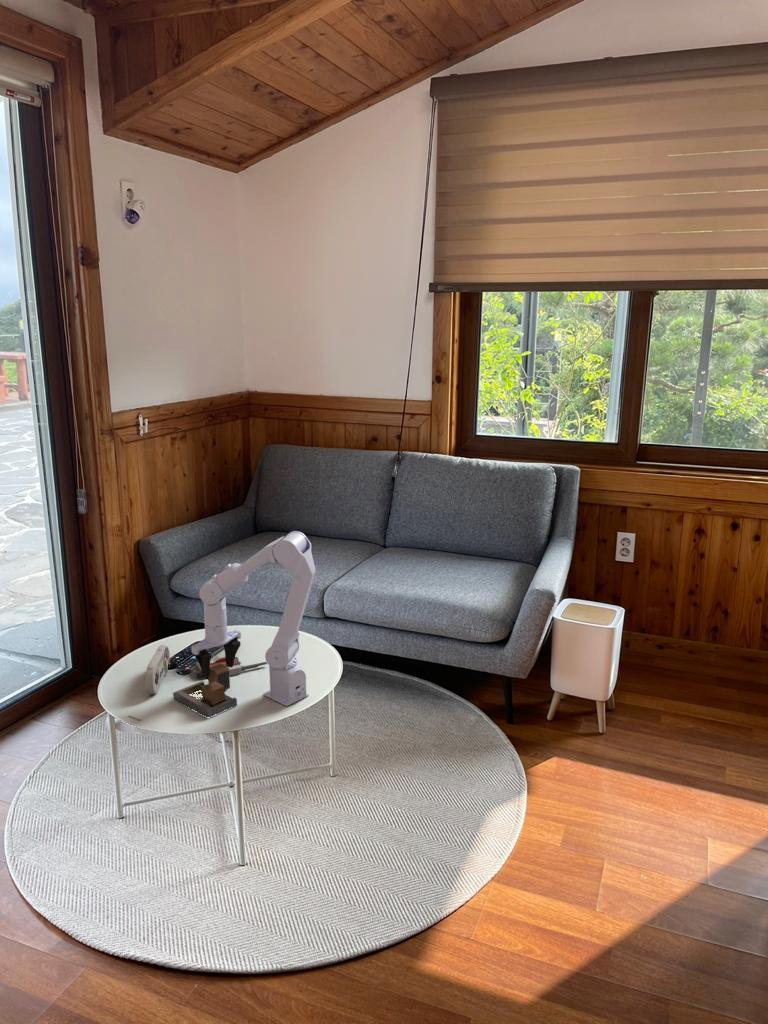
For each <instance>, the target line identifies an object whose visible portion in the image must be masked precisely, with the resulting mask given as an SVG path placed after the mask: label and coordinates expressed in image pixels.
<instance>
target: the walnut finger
mask: <svg viewBox="0 0 768 1024" xmlns="http://www.w3.org/2000/svg"><path fill="white" fill-rule="evenodd" d="M230 677H231V676H229V667H227V666H225V665H223V664H221V663H219V664H216V665H214V666H211V667H210V676H209V677H208V678H207V680H208V681H207V682H208V683H207V684H209V683H212V682H214V681H216V682H218V683H220V684H222V685H224V686H225V689H226V690H228V689H230V688H231V683H230V682H231V681H230Z"/></svg>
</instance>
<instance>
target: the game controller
mask: <svg viewBox="0 0 768 1024" xmlns="http://www.w3.org/2000/svg"><path fill="white" fill-rule="evenodd" d="M170 659H171V658H170V649H169V647H168V645H165V644H161V645H159V646H158V647H157V649H156V651H155V653H154V654H153V656H152V658H151V660H149V663H148V664H147V667H146V671H145V676H144V677H145V678H144V679H145V681H144V685H145V686H144V687H145V691H146V693H147V695H157V694H158V693H159V691H160V690H159V689H160V687H161V686H160V685H161V683H162V681H163V679H164V677H165V676H166V675H167V674H168V672H169V670H168V664H169V665H170V662H169V661H170Z"/></svg>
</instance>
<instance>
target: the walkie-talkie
mask: <svg viewBox="0 0 768 1024" xmlns="http://www.w3.org/2000/svg"><path fill="white" fill-rule="evenodd" d="M219 663H221V664H223V665H225V666H227V665H226V660H225V653H224V654H223V653H222V654H218V655H215V656H214V657H213V658H211V660H210V667H211V666H214V665H216V664H219ZM241 664H242V663H241V661H240V660H239V657H238V656H235V659H234V664H233V667H229V666H227V667H229V677H231V676H236V675H240V674H242V672H244V671H247V670H251V669H256V668H258V667H260V666H264V665H268V663H267V661H263V662H258V663H254V664H253V663H252V664H249V665H241ZM195 668H196V669H195ZM195 670H196V671H195ZM194 671H195V672H197V673H196V674H195V676H196V678H198V679H202V678H204V679H207V678H206V676H204V675H203V673H202V670H201V667H200V664H199V662H198V661H197V662H194Z"/></svg>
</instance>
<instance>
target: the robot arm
mask: <svg viewBox="0 0 768 1024" xmlns="http://www.w3.org/2000/svg"><path fill="white" fill-rule="evenodd" d="M268 562H271V563H273V564H275V563H277V562H278V563H279V564H280V565H281V566H282V567H284V568H285V569H286V570H287V571H289V572H290V573H291V575H292V576H293V578H292V583H291V585H290V588H289V592H288V595H287V600H286V603H285V606H284V609H283V614H282V615H281V620H280V623H279V627H278V630H277V632H276V634H275V637H274V638H273V640H272V643H271V646H270V647H269V648H268V649H267V650H266V652H265V655H264V657H265V662H267V665H268V671H269V690H267V691H265V692H263V693H262V694H263V696H264V697H267V698H269V699H271V700H273V701H275V702H277V703H279V704H281V705H283V706H286V707H288V706H289V705H292V704H294V703H296V702H299V701H300V700H302V699H305V698H307V697H308V696H309V695H310V694H309V693H308V692H307V676H306V673H305V670H303V669H302V668H301V667H300V666H299V664H298V659H297V657H296V654H297V653H298V651H299V649H300V641H299V637H300V632H299V629H300V627H301V623H302V620H303V616H304V612H305V610H306V606H307V603H308V599H309V596H310V594H311V593H310V592H311V588H312V585H313V582H314V579H315V576H316V566H315V561H314V557H313V553H312V543H311V542H310V540H309V539H308V537H307V536H306V535H305V534H304V533H303V532H301V531H299V530H298V531H297V530H293V531H290V532H289V533H288V534H286V536H285V535H283V536H281V537H278V538H277V539H276V540H274V541H272V542H270V543H269V544H267V545H265V546H264V548H262V549H261V550H259V551H257V552H255V554H254V555H252V556H251V557H249V558H248V559H247V560H245V561H244V562H243V563H237V562H235V563H229V564H227V565H226V566H225V567H224V570H223V571H221V572H220V573H219V574H217V573H216V574H214V575H212V577H211V579H209V580H208V581H206V582H205V583H203V585H202V586H201V587H200V589H199V591H198V592H199V593H198V595H199V598H200V600H201V601H202V602H203V616H204V619H203V620H204V635H205V636H204V638H203V639H202V640H200V641H199V642H197V643H196V644H194V645H191V646H190V647H191V654H193V656H194V657H195V659H196V661H197V662H199V664H200V667H201V670H202V673H203V675H204V676H206V677H209V676H210V660H211V659H212V654H210V653H208V651H207V650H210V649H213V648H215V647H221V646H223V650H224V654H225V660H226V665H227V666H229V667H233V664H234V659H235V657H237V656H236V654H237V653H238V650H239V649H240V647H241V641H240V640H241V638H242V635H241V631H239V630H237V629H235V630H233V631H232V630H231V631H228V622H227V620H228V619H227V602H226V601H227V599H226V597H227V596H228V595H229V594H231V593H232V592H234V591H235V590H237V589H238V588H239V587H241V586H242V585H244V584H245V583H247V582H248V580H249V574H251V573H253V572H254V571H255V570H257V569H259V568H260V567H262V566H263V565H265V564H266V563H268Z"/></svg>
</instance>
